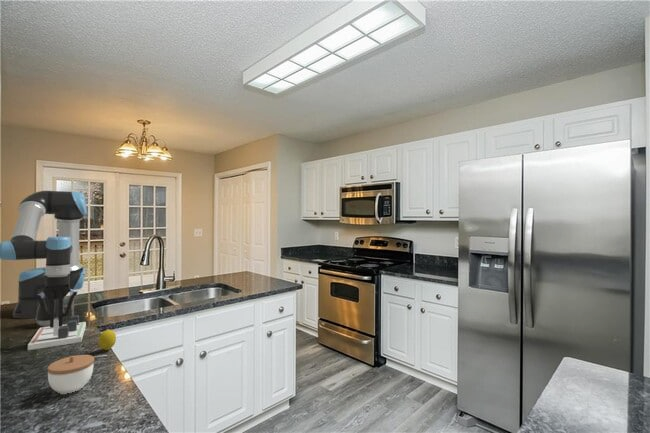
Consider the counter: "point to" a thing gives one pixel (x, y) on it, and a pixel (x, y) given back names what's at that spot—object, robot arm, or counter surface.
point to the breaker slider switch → (63, 332)
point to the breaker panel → (56, 337)
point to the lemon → (107, 339)
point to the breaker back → (75, 318)
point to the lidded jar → (70, 373)
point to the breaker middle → (72, 325)
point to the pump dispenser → (39, 314)
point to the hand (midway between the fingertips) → (56, 334)
